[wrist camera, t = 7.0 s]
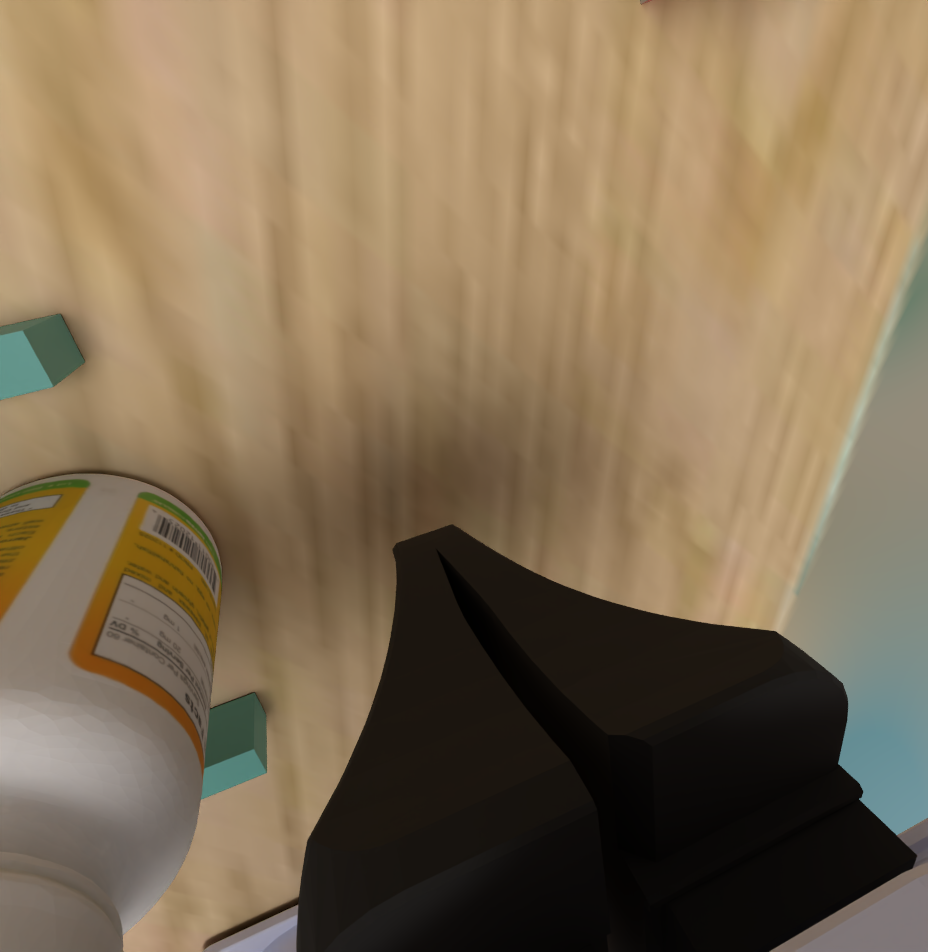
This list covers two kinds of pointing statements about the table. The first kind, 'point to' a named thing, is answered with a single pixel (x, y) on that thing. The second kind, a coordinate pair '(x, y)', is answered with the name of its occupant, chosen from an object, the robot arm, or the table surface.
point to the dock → (230, 725)
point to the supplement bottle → (99, 704)
